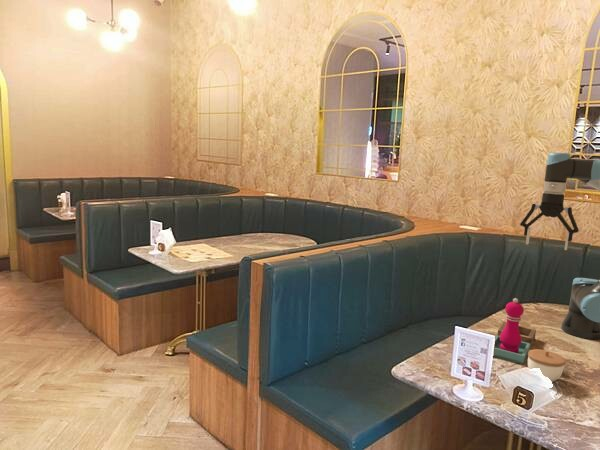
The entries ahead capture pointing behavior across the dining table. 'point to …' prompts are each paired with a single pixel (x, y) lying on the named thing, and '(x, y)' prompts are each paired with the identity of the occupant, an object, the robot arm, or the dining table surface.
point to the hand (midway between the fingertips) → (546, 246)
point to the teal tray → (511, 356)
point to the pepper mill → (512, 327)
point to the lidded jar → (546, 363)
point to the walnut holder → (522, 333)
